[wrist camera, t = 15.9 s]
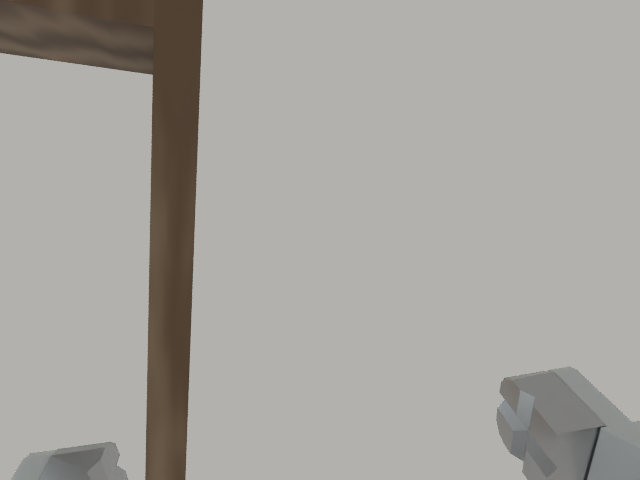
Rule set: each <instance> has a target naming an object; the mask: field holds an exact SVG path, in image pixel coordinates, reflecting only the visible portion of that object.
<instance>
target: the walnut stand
mask: <svg viewBox="0 0 640 480" xmlns="http://www.w3.org/2000/svg"><path fill="white" fill-rule="evenodd" d="M202 9H203V0H0V53H6V54H13V55H20V56H27V57H33V58H40V59H47V60H54V61H61V62H68V63H75V64H82V65H89V66H96V67H104V68H111V69H118V70H124V71H131V72H138V73H145V74H152V75H153V103H152V158H151V212H150V265H149V318H148V319H149V320H148V321H149V322H148V372H147V427H146V428H147V429H146V480H185V471H186V444H187V417H188V390H189V363H190V362H189V361H190V336H191V308H192V282H193V280H192V279H193V254H194V227H195V200H196V199H195V198H196V173H197V145H198V118H199V92H200V91H199V90H200V65H201V38H202Z"/></svg>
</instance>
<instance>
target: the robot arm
mask: <svg viewBox="0 0 640 480" xmlns="http://www.w3.org/2000/svg"><path fill="white" fill-rule="evenodd" d="M500 393H501V395H502V396H503V397H504V399H505V400H504V401H503V402H502V403H501V404H500V406H499V407H498V409H497V425H498V429H499V433H500V436H501V438H502V440H503V442H504V444H505V446H506V447H507V449H508V450H509V452H510V453H511V454H513V455H514V456H516V457H517V458H519V459H521V460H522V461H523V473H524V475H525V476H526V478H527V479H528V480H640V421H636V422H631V421H630V420H629V419H628V418H627V417H626V416H625V415H624V414H623V413H622V412H621V411H620V410H619V409H618V408H617V407H616V406H615V405H613V404H612V403H611V402H610V401H609V400H608V399H607V398H606V397H605V396H604V395H603V394H602V393H601V392H599V390H597V388H595V387H594V386H593V385H592V384H591V383H590V382H589V381H588V380H587V379H586V378H585V377H584V376H583V375H582V374H581V373H579V372H578V370H576V369H574V368H572V367H565V368H559V369H554V370H548V371H542V372H536V373H531V374H524V375H519V376H513V377H507V378H504V380H503V381H502V382H501V387H500ZM119 456H120V454H119V452H118V449H117V447H116V444H115V443H112V442H107V443H99V444H92V445H85V446H78V447H70V448H63V449H57V450H52V451H44V452H37V453H30V454H29V455H28V456H27V457H26V458H24V459H23V460H22V462H21V463H20V465H19V467H18V469H17V470H16V472H15V474H14V475H13V477H12V479H11V480H128V478H127V475H126V472H125V470H123V469H121V468H120V467H118V466H117V462H118V459H119Z"/></svg>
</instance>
